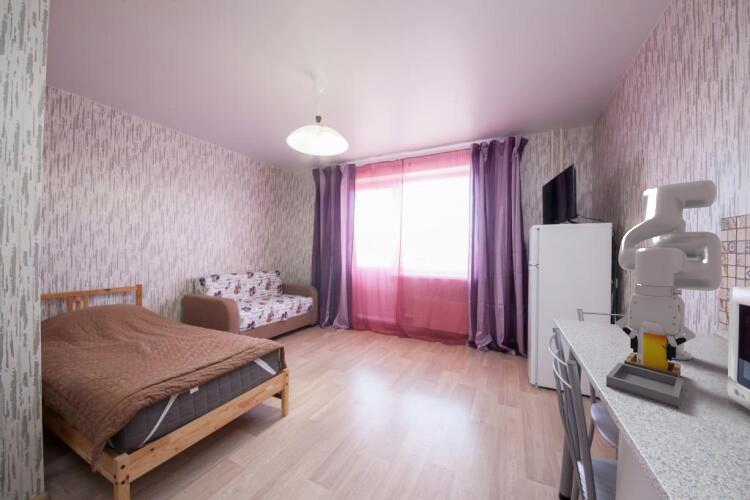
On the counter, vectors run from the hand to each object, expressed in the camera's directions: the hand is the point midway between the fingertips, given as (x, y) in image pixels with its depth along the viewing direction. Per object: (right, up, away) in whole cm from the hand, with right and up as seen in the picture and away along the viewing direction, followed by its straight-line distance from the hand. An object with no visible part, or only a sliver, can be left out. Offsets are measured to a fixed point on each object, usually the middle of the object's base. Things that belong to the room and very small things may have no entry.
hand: (652, 355), depth 74 cm
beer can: (0, -5, 0) cm, 5 cm away
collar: (0, -5, 0) cm, 5 cm away
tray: (-10, -5, -8) cm, 14 cm away
